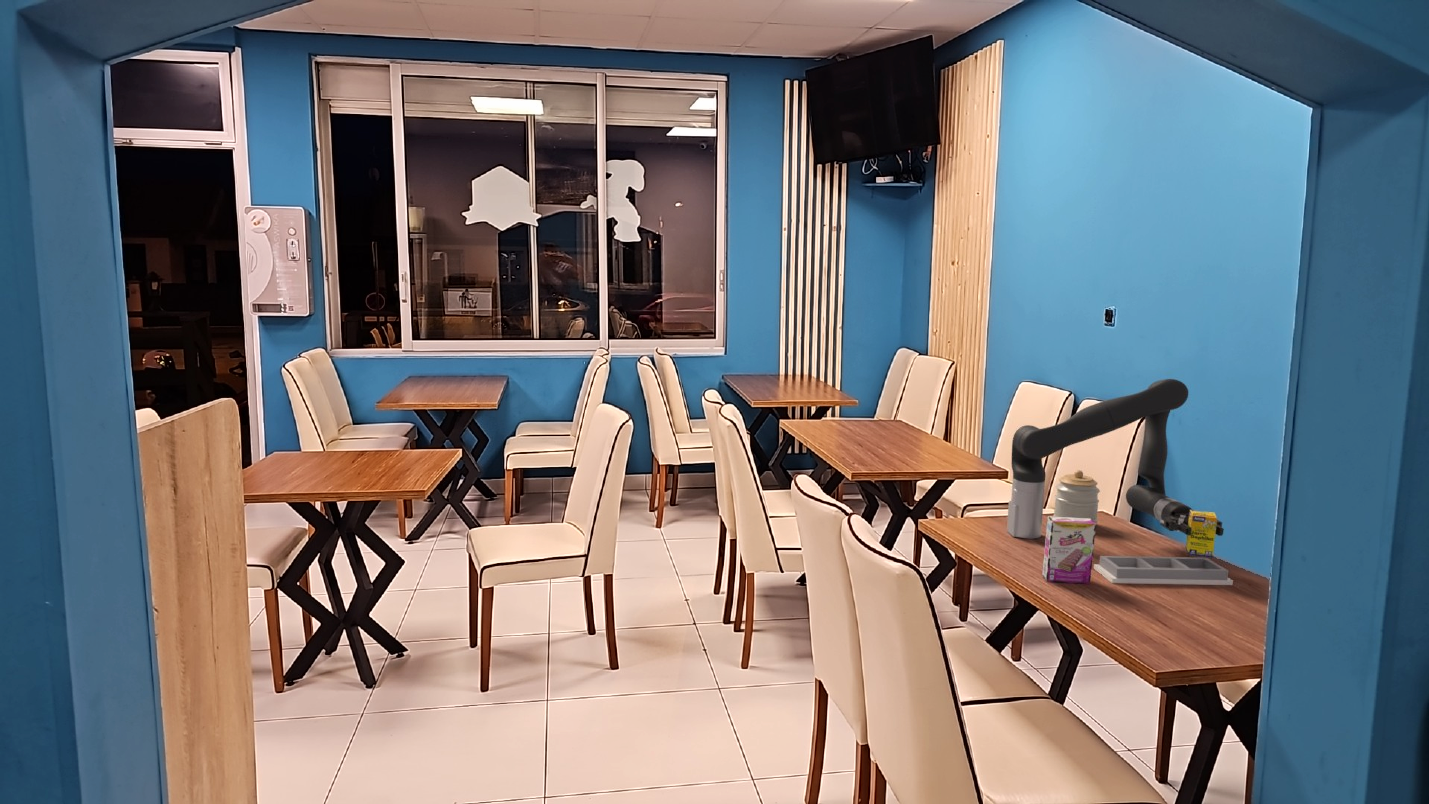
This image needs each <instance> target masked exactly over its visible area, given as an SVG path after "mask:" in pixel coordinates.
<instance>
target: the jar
mask: <svg viewBox="0 0 1429 804" xmlns="http://www.w3.org/2000/svg"><path fill="white" fill-rule="evenodd" d="M1058 481H1059V483H1057V484H1056V485H1055V488H1056V494H1055V495H1054V498H1055V499H1054V513H1053V517H1070V518H1089V519H1091V520H1092V521H1094V522H1095V523H1096V525H1097V524H1098V510H1099V509H1098V508H1099V502H1100V501H1099V497H1098V494H1099V493H1100V492H1101V491H1100V488H1098V487H1097V485H1098V482H1097V481H1096V480H1095V479H1094V478H1093V477H1092V476H1088V475H1084V472H1083V471H1082V470H1080V469H1077V470H1075V472H1074V474H1065V475H1063V476H1062V477H1060V478H1058Z"/></svg>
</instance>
